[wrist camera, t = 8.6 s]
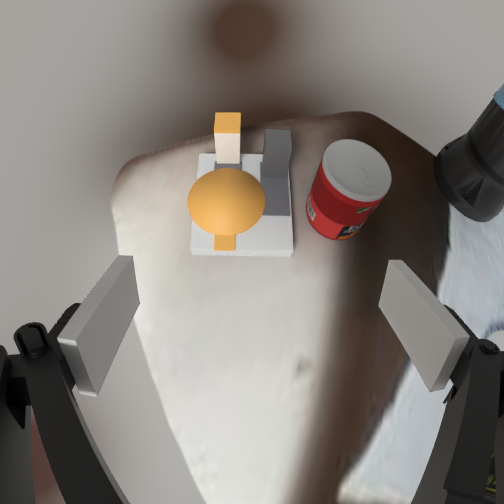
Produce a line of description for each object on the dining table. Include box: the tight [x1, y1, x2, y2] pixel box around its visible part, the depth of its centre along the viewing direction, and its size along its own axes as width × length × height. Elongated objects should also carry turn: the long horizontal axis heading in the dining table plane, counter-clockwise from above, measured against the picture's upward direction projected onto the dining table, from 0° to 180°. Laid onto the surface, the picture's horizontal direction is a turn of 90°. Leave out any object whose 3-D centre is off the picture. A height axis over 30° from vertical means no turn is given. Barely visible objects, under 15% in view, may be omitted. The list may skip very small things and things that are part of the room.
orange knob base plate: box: [188, 129, 293, 257], centre depth 38 cm, size 13×14×8 cm
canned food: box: [306, 139, 392, 240], centre depth 36 cm, size 8×8×11 cm
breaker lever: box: [214, 113, 241, 164], centre depth 39 cm, size 3×3×7 cm
